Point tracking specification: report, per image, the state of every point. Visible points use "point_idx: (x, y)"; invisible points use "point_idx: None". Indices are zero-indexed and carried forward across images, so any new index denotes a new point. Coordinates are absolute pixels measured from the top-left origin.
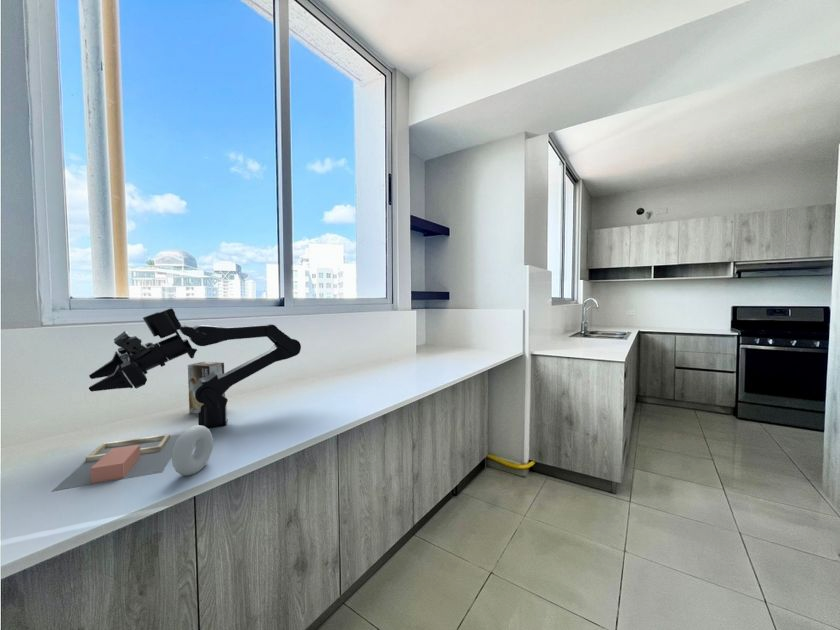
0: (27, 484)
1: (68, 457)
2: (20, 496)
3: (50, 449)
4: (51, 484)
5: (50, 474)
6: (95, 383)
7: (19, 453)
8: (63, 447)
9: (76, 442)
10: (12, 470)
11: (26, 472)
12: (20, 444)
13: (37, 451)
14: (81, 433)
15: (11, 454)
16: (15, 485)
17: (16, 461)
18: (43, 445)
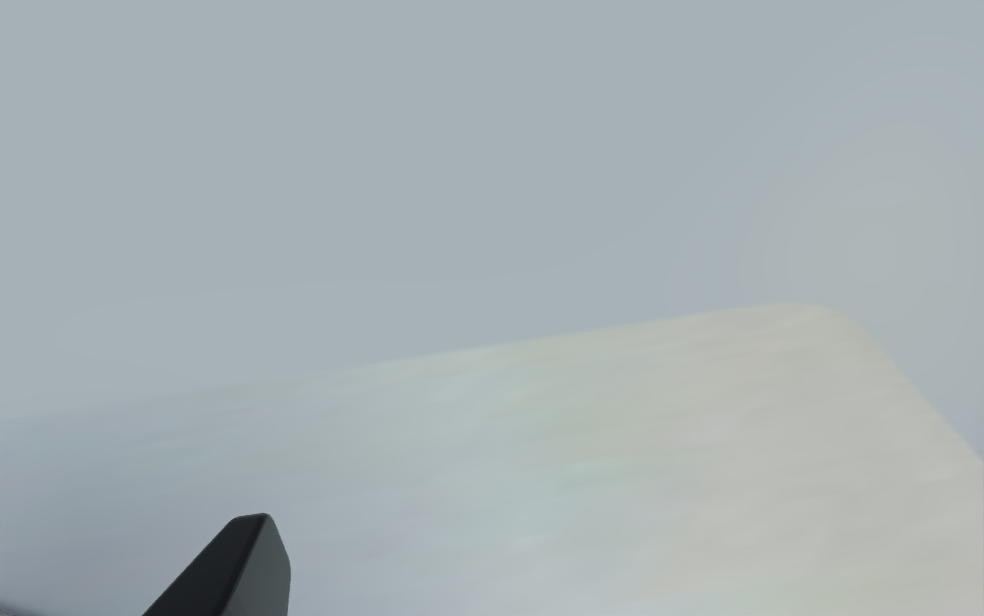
0: (159, 452)
1: (465, 564)
2: (5, 454)
3: (686, 455)
4: (36, 551)
5: (220, 521)
6: (211, 600)
7: (694, 348)
8: (689, 510)
9: (759, 564)
10: (439, 367)
11: (358, 419)
12: (844, 329)
13: (684, 407)
14: (955, 565)
15: (696, 325)
16: (196, 411)
17: (570, 358)
18: (780, 415)
